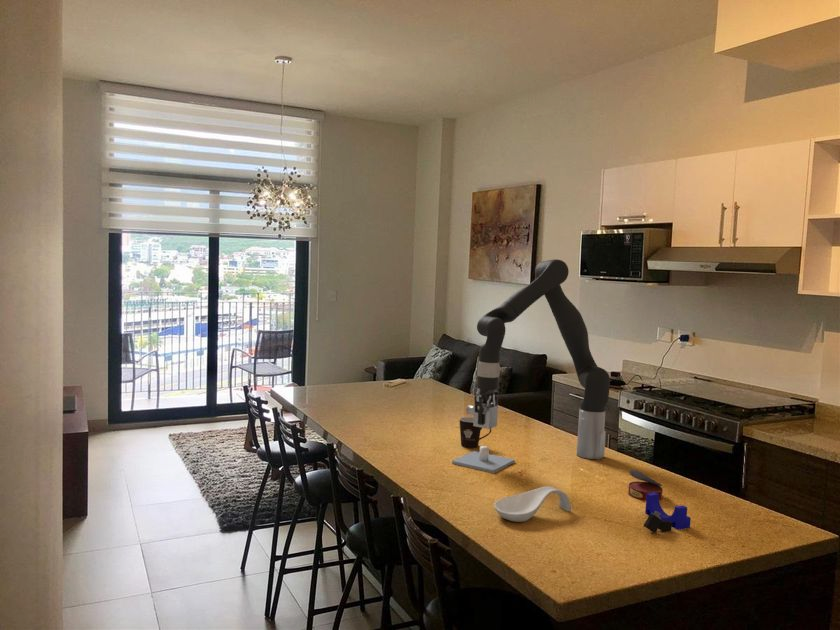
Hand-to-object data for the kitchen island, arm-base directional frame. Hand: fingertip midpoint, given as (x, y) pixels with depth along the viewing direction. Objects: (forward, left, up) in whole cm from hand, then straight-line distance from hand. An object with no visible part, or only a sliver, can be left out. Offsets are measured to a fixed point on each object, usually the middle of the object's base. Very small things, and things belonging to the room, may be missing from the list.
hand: (485, 422), depth 230 cm
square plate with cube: (0, 0, -14) cm, 14 cm away
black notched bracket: (-64, +24, -14) cm, 70 cm away
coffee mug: (+13, -16, -14) cm, 25 cm away
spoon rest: (-33, +34, -15) cm, 50 cm away
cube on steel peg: (+2, 0, -1) cm, 2 cm away
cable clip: (-65, +14, -15) cm, 68 cm away
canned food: (-54, -3, -14) cm, 56 cm away
